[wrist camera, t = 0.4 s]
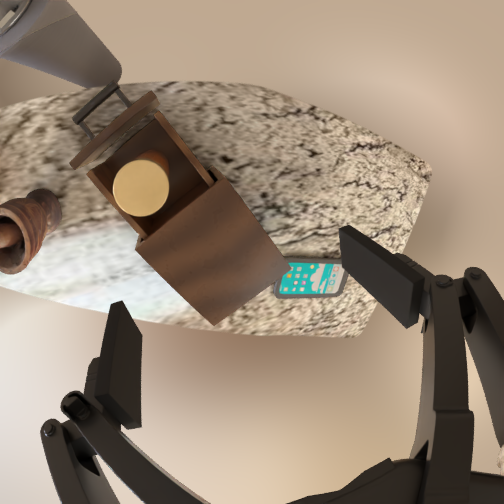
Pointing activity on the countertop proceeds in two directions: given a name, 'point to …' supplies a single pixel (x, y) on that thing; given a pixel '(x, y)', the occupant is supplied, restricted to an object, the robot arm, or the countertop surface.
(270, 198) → the countertop surface
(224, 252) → the cabinet
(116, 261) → the countertop surface
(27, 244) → the mortar and pestle
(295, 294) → the smartphone
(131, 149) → the drawer
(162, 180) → the spice jar
